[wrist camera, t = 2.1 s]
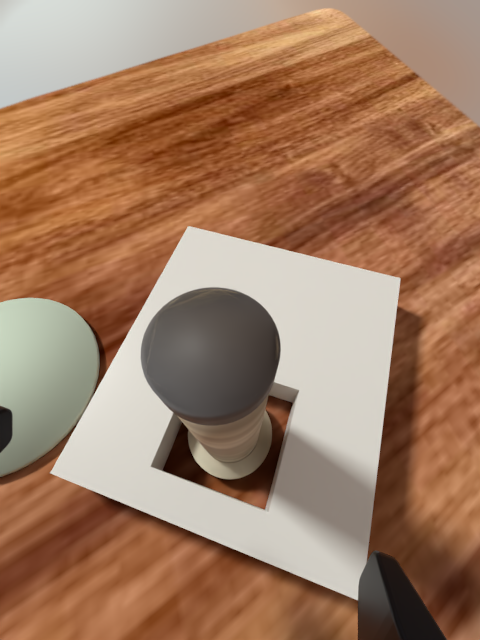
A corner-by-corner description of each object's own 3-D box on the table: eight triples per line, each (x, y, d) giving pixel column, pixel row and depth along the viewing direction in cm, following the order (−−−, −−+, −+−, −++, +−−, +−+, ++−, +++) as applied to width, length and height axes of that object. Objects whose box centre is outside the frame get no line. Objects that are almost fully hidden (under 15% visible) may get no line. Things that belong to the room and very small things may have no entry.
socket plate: (343, 585, 14) (361, 602, 12) (75, 476, 17) (50, 473, 15) (384, 300, 22) (400, 278, 20) (193, 250, 24) (188, 226, 22)
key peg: (257, 492, 16) (281, 485, 6) (177, 462, 17) (70, 407, 6) (279, 409, 18) (328, 291, 8) (208, 385, 19) (163, 248, 8)
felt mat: (-46, 534, 16) (-54, 535, 15) (-123, 382, 19) (-132, 380, 19) (136, 376, 19) (133, 373, 19) (42, 274, 23) (38, 270, 23)
